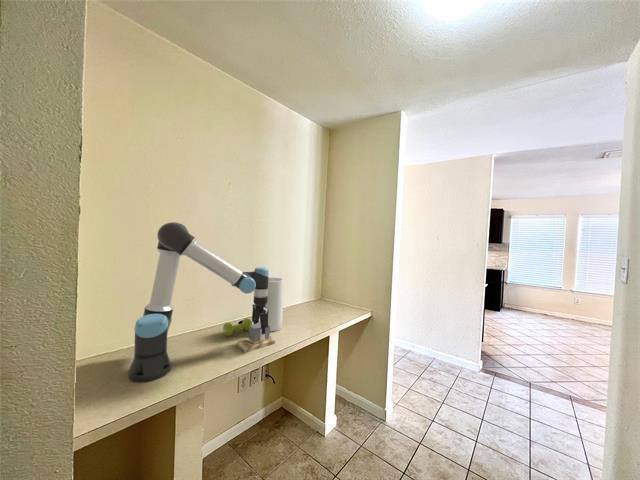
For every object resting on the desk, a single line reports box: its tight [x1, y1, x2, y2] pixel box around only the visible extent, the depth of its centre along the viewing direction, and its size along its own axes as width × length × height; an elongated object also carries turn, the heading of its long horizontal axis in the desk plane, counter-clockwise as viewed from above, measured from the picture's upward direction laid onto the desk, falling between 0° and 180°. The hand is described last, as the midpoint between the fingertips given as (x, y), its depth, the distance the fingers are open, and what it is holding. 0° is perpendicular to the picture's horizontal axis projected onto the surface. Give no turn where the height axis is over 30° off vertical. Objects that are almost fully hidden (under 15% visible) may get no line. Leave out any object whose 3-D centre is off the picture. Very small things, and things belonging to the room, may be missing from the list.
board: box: [236, 335, 276, 353], centre depth 144 cm, size 18×10×2 cm, turn 132°
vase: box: [259, 276, 285, 333], centre depth 168 cm, size 14×14×32 cm
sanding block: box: [248, 323, 270, 344], centre depth 145 cm, size 9×6×8 cm, turn 132°
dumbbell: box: [222, 318, 253, 338], centre depth 158 cm, size 16×8×7 cm, turn 136°
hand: (259, 337), depth 145 cm, fingers closed on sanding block, 6 cm apart
